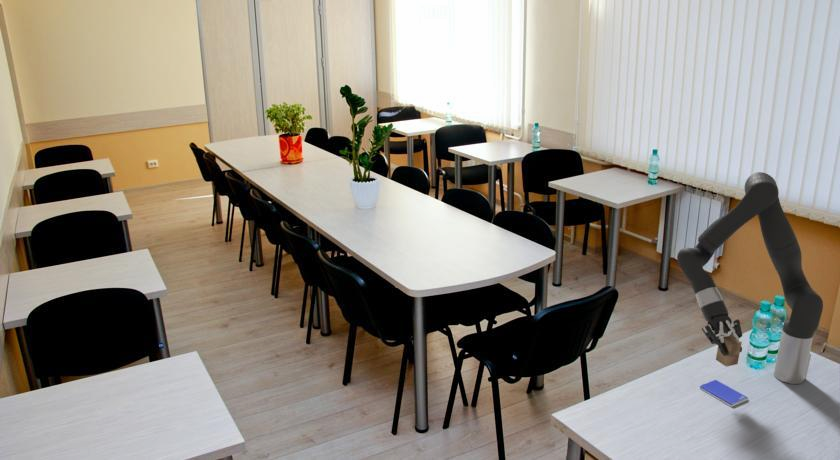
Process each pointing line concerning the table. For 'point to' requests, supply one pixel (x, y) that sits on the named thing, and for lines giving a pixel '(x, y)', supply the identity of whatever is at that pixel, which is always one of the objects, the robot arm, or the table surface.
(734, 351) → the walnut block
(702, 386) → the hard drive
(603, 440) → the table surface
